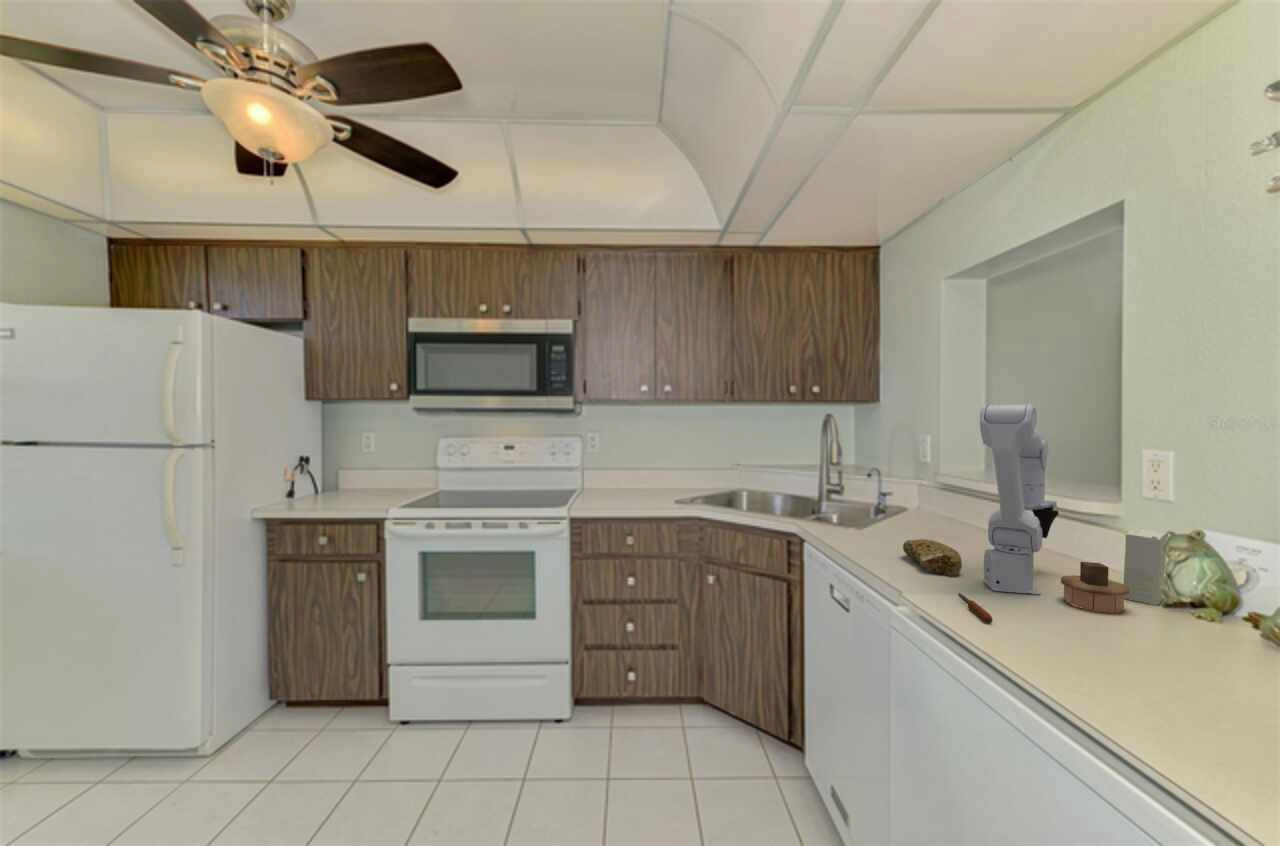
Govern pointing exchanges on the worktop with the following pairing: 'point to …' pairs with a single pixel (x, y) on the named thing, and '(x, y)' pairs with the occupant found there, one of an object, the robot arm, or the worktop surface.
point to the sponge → (934, 556)
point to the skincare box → (1144, 565)
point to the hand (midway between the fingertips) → (1030, 538)
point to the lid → (1094, 580)
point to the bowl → (1094, 600)
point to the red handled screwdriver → (977, 609)
